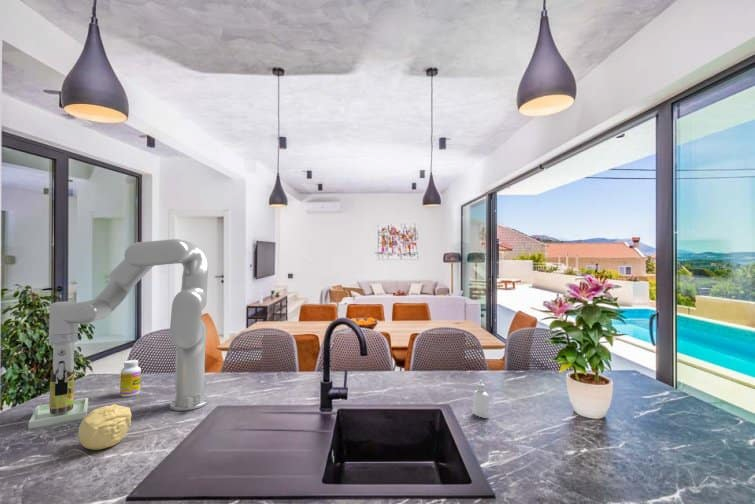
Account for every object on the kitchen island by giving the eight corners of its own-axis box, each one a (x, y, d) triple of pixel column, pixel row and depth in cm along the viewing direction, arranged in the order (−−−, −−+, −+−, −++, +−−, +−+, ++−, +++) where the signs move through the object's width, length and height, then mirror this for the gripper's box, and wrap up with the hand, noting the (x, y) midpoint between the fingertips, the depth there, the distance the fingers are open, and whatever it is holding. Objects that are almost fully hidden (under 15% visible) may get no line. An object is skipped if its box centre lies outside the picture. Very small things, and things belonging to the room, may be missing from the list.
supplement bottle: (132, 397, 143) (133, 363, 144) (115, 397, 143) (116, 363, 144) (144, 391, 150) (144, 359, 150) (127, 391, 150) (128, 359, 150)
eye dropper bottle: (484, 412, 130) (484, 377, 131) (490, 419, 125) (490, 382, 125) (472, 412, 130) (472, 377, 130) (477, 419, 124) (477, 382, 125)
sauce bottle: (72, 412, 125) (73, 352, 125) (47, 416, 122) (48, 355, 122) (74, 406, 130) (75, 348, 131) (51, 410, 127) (52, 351, 127)
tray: (86, 418, 124) (86, 411, 124) (28, 429, 115) (28, 422, 116) (88, 403, 137) (88, 397, 137) (36, 412, 128) (36, 406, 128)
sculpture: (89, 459, 98) (90, 417, 99) (70, 447, 105) (71, 408, 105) (136, 441, 108) (137, 403, 108) (116, 431, 114) (117, 395, 115)
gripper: (76, 341, 122) (74, 397, 122) (79, 333, 136) (78, 383, 136) (45, 344, 118) (43, 402, 117) (52, 335, 132) (50, 387, 131)
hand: (62, 391), depth 126 cm, fingers closed on sauce bottle, 6 cm apart
